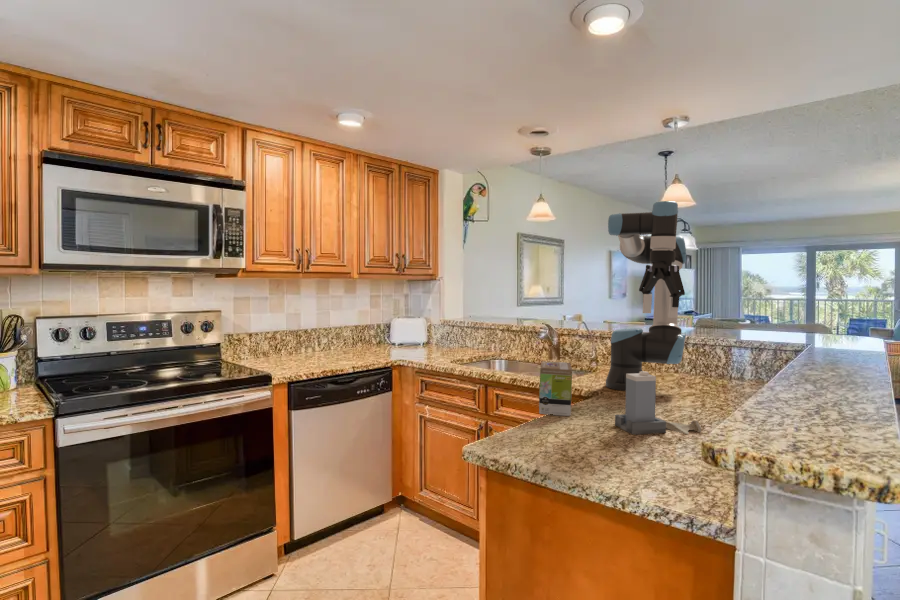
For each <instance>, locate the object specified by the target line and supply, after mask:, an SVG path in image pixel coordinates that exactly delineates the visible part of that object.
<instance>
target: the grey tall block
mask: <svg viewBox="0 0 900 600" xmlns="http://www.w3.org/2000/svg"><path fill="white" fill-rule="evenodd" d="M656 382H657V376H656V375H652V374H650V373H649V371H644V370H642V371H640V373H633V374H626V391H625V423H626V424H627V421H628V420H630V421H632V422H652V421H655V417H656V398H657V397H656V391H657V390H656V389H657V388H656V387H657V383H656Z"/></svg>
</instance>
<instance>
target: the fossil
mask: <svg viewBox="0 0 900 600" xmlns="http://www.w3.org/2000/svg"><path fill="white" fill-rule="evenodd" d="M657 418H658V419H661V420H663V421H665V422H666V430H670V431H673V432H675V431H676V432H675V433H678V432H679V433H678V434H682V433H683V435H690V434H689V433H690V432H689V430H690V431H695V432H696V431H697V433H701V431H702V427H701V425H700V423H699V421H698V420H692V421H691V422H690V423H688V424H685V423H680V422H671V421H667V420H665V419H662V418H660V417H657Z"/></svg>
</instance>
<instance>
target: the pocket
mask: <svg viewBox="0 0 900 600" xmlns="http://www.w3.org/2000/svg"><path fill="white" fill-rule="evenodd" d="M658 418H659V417H656V416H655V421H652V422H632V421H630V420H628V421H627V424H626V423H625V414H615V415H614V421H615V422H614V426H615V427H617V426H618V427H617V428H619V427H620V429H621V430H623V431H625V432H627V433H629V434H630V433H631V434H630V435H632V434H635V435H648V434H649V435H650V434H651V433H653V434H665V433H666V432H667V429H666V422H665V421H666V420H665V421H663V420H664V419H662V418H660V419H658ZM661 419H662V420H661ZM651 435H652V434H651Z"/></svg>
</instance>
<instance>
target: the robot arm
mask: <svg viewBox="0 0 900 600" xmlns="http://www.w3.org/2000/svg"><path fill="white" fill-rule="evenodd" d="M678 205H679V203H677V201H673V200H665V201H664V200H662V201H655V202H654V203H653V204H652V210H651V211H649V212H647V211H646V212H630V213H629V212H625V213H622V212H621V213H620V212H619V213H613V214H610V215H609V216H608V218H607V231H608V235H610V236H616V237H618V240H619V242H620V243H619V250H620V253H621V254H622V255H623V256H624V257H625V258H626V259H628V260H629V261H632V262H634V263H637V264H640V265H644V264H645V271H644V275H643V277H642V280H641V282H640V286H639V289H638V291H639V292H640V293H642V314H651V313H652V302H653V317H652V318H653V320H652V321H653V322H652V323H653V324H652V325H650V326H649V328H648V331H647V332H645V331H644V330H643V329H642V327H638V328H635V327H634V328H633V327H632V328H624V329H617V330H614V331H612V332H611V337H610V368H609V370H608V373H607V375H606V378H605V387H606V388H608V389H613V390H616V391H623V392H626V374H633V373H640V371H643V368H642V366H643V365H642V364H643V363H651V364H652V363H653V364H663V365H664V364H665V365H678V364H680V363H681V362H682V360H683V355H684V350H685V349H684V348H685V344H686V343H685V341H686V334H685V333H682V328H681V327H680V326H678V316H679V315H678V313H679V306H680V297H681V296H685V294H686V292H685V287H684V285H683V281H682V278H681V274H680V271H681V269H682V268H683V265H684V264H686V263H687V247H686V242H685V238H684V237H683V236H682V235H680V234H679V235H677V229H678V228H677V227H678V214H679V207H678ZM653 289H654V294H653V292H652V291H653ZM653 295H654V298H653ZM652 300H653V301H652Z"/></svg>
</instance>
